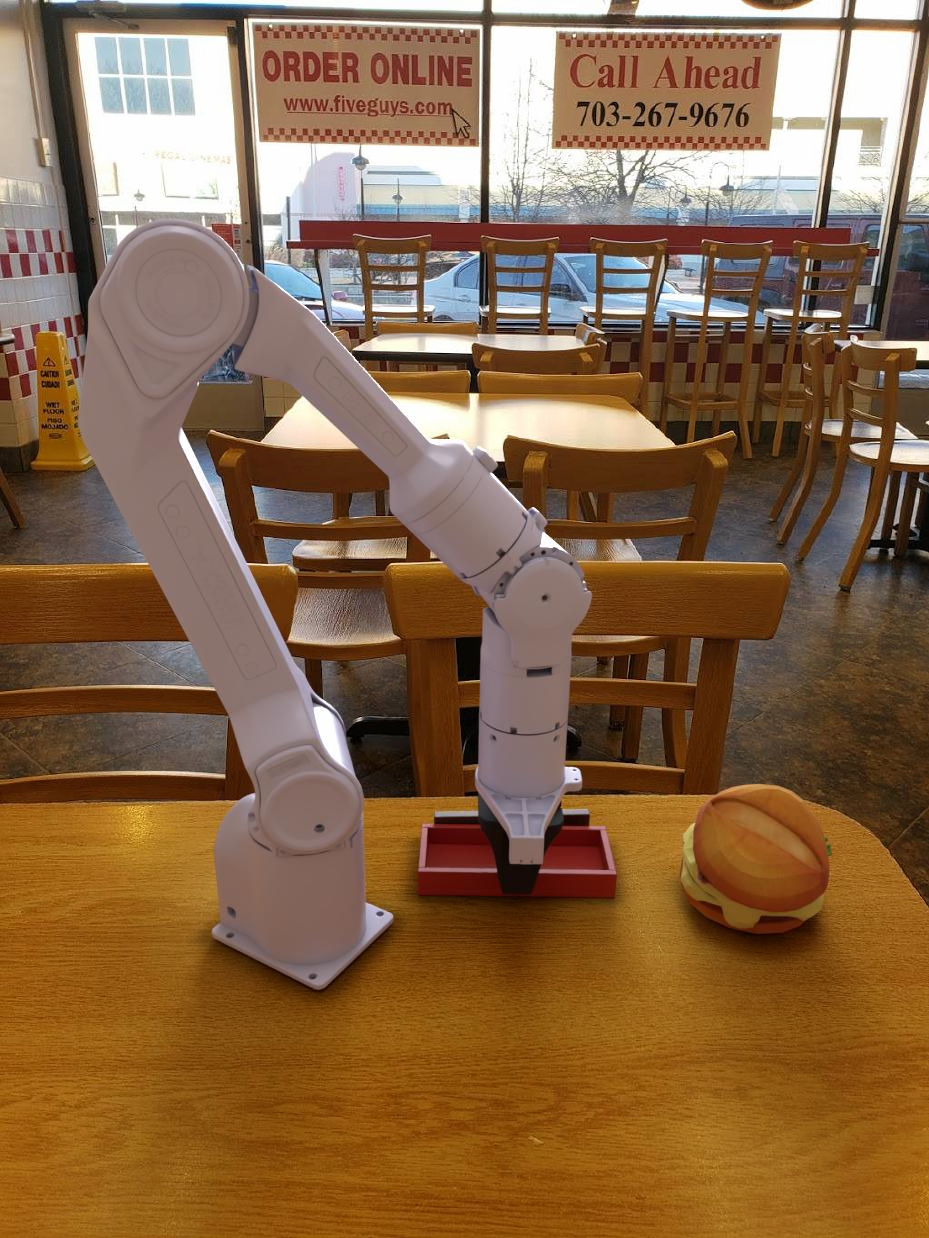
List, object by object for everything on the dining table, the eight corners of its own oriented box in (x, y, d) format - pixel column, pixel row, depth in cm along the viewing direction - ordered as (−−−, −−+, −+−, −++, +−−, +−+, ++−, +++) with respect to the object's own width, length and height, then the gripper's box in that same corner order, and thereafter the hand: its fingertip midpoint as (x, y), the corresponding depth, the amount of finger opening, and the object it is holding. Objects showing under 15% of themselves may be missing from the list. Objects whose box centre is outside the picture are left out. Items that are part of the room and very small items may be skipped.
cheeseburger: (801, 853, 72) (832, 758, 66) (832, 977, 63) (870, 880, 57) (667, 843, 72) (685, 747, 67) (679, 964, 64) (701, 866, 58)
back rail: (588, 841, 73) (590, 814, 72) (434, 844, 72) (434, 816, 71) (586, 835, 74) (588, 808, 73) (433, 838, 73) (433, 811, 72)
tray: (615, 897, 67) (617, 874, 66) (417, 895, 67) (417, 871, 66) (603, 848, 72) (605, 825, 71) (422, 845, 72) (421, 823, 72)
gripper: (600, 773, 54) (586, 962, 59) (573, 669, 67) (564, 830, 72) (477, 771, 54) (473, 961, 59) (475, 667, 67) (472, 829, 72)
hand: (516, 889), depth 65 cm, fingers closed
